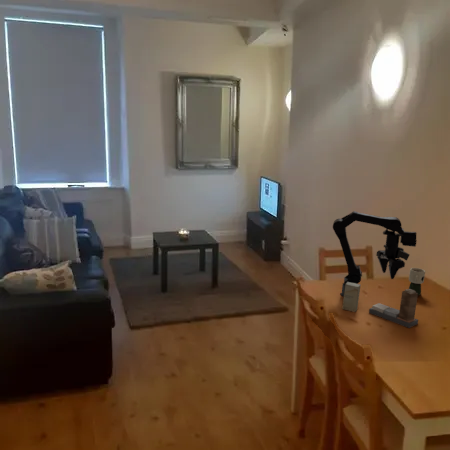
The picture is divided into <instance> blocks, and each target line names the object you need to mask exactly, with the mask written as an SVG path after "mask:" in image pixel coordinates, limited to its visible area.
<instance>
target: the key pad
mask: <svg viewBox="0 0 450 450" xmlns="http://www.w3.org/2000/svg"><path fill="white" fill-rule="evenodd" d="M368 310H369V311H368V313H369V314H372V315H374V316H376V317H379V318H381V317H382V319H384V320H387V321H390V322H392V323H395V324H398V325H400V326H403V327H405V328H409V329H410V328H413V327H414V326H417V325H418V324H419V319H417V318H415V317H414V319H416V320H415V321H413V322H410V323H408V322H405V321H403V320H400V319H397V318H398V317H399V311H400V309H397V308H394V307H391V306H388V305H386V304H382V303H380V302H378V303H376V304H373V305H372V306H371V308H369V309H368Z"/></svg>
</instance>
